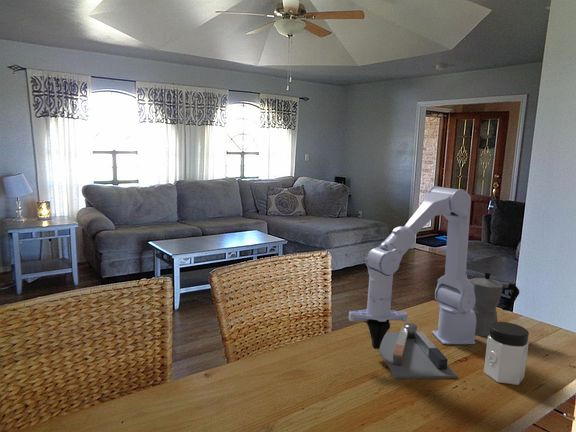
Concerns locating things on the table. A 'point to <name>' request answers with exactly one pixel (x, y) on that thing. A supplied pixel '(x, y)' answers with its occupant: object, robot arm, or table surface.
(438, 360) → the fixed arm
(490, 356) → the jar
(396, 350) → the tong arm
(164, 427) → the table surface
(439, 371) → the slate mat
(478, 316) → the coffeepot
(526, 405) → the table surface
